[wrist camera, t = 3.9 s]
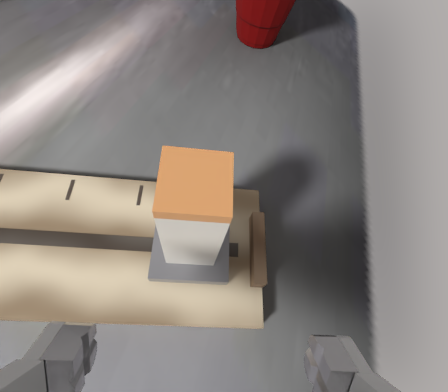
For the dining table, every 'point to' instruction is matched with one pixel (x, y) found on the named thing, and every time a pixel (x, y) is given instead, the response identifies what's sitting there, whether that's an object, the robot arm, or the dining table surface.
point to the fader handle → (192, 216)
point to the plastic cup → (260, 20)
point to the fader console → (114, 256)
